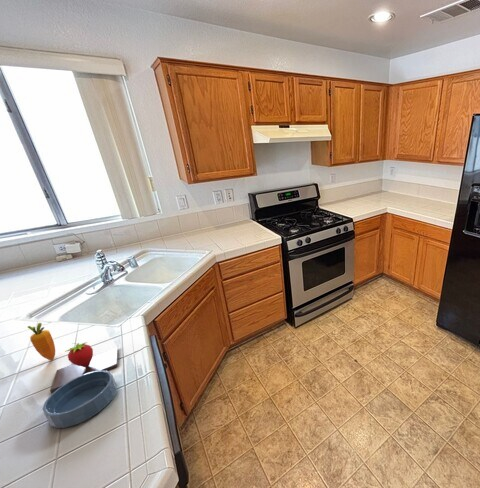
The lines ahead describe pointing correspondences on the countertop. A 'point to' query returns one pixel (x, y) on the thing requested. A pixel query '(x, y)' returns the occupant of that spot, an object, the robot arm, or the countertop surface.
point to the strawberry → (80, 355)
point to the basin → (80, 399)
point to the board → (85, 368)
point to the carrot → (43, 342)
